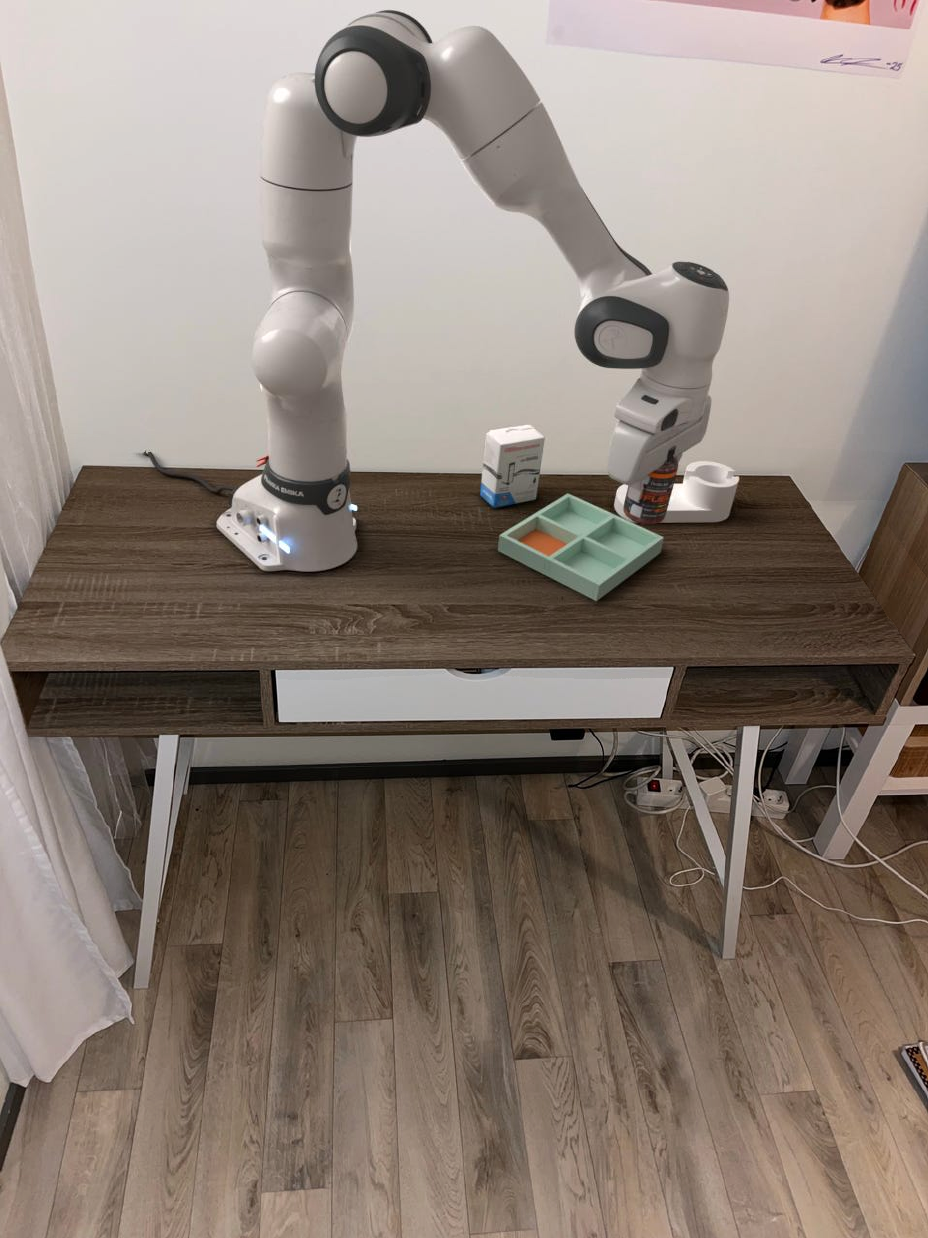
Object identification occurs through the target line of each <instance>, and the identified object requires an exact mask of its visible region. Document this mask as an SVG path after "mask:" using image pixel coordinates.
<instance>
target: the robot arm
mask: <svg viewBox="0 0 928 1238" xmlns="http://www.w3.org/2000/svg"><path fill="white" fill-rule="evenodd" d="M423 119H424V120H427V121H428V122H430V123H432V124H433V125H434V126H435V127H436V128H437V129H438V130H439V131H440V133H441V134H442V135H443V136H444V138H445V139H446V141H447V142H448V143H449V145H450V147H451V149H452V150H453V152H454V153H455V155H456V157H457V159H458V160H459V161H460V163H461V164H462V166H463V168H464V170H465V172H466V173H467V174H468V176H469V178H470V179H471V180H472V182H473V183H474V185H476V187H477V188H478V189H479V191H481V192H482V194H483V195H484V197H486V198H487V200H489V201H490V203H492V205H493V206H495V208H498V209H500V210H503V211H506V212H509V213H520V214H524V215H526V216H529V217H531V218H533V219H534V220H536V221H537V222H538V223H539V224H540V225H541V226H542V227H543V228H544V229H545V231H546V232H547V234H548V235H549V236H550V238H551V240H552V241H553V242H554V244H555V245H556V247H557V248H558V250H559V251H560V253H561V254H562V256H563V258H564V259H565V261H566V262H567V263H568V266H570V268H571V270H572V271H573V273H574V274H575V276H576V278H577V281H578V285H579V291H580V305H579V307H578V310H577V315H576V319H575V322H574V331H573V332H574V339H575V344H576V346H577V348H578V350H579V351H580V353H581V354H582V356H583V357H584V358H585V359H586V360H587V361H589V362H591V363H592V364H593V365H596V366H598V367H600V368H604V369H616V370H617V369H618V370H619V369H621V370H640V369H641V372H640V376H639V377H638V378H637V379H636V380H635V382H634V384H633V385H632V386H631V388H630V389H629V391H628V392H627V393H626V394H624V396H623V397H622V398H621V399H620V400H618V402H617V403H616V405H615V409H614V418H616V419H617V420H618V421H617V422H616V424H615V426H614V428H613V432H612V435H611V438H610V444H609V450H608V455H607V462H606V471H607V474H608V477H609V478H610V479H612V480H614V481H616V482H618V483H620V484H622V485H624V484H625V485H628V486H629V491H628V497H629V498H630V499H632V500H634V501H639V500H640V499H642V498H643V497H644V496H645V492H646V487H645V486H643V480H645V479H646V476H647V475H648V474H650V473H651V472H653V471H655V470H656V469H658V468H659V467H661V466H662V465H663V464H664V463H665V461H666V460H667V455H668V450H669V449H670V448H672V447H674V446H675V445H676V449H675V454H674V455H673V456H674V458H675V457H676V459H677V461H678V464H679V463H680V461H681V459H682V457H683V455H684V453H685V452H687V451H688V450H690V449H692V448H693V447H695V446H697V445H698V444H700V443H701V442H702V441H703V439H704V437H705V436H706V433H707V429H708V424H709V420H710V415H711V409H712V396H711V395H709V392H710V389H711V383H712V380H713V364H714V360H715V358H716V356H717V355H718V353H719V351H720V348H721V345H722V341H723V337H724V333H725V330H726V325H727V319H728V315H729V314H728V313H729V306H730V305H729V304H730V291H729V288H728V285H727V284H726V281H725V280H724V278H722V276H721V275H720V274H718V273H717V272H715V271H714V270H713V269H711V268H709V267H707V266H705V265H702V264H699V263H695V262H691V261H675V262H673V263H671V264H670V265H668V266H667V267H665V268H663V269H661V270H659V271H657V272H655V273H652V271H651V270H650V269H649V268H648V267H647V266H646V265H645V264H644V263H642V262H641V261H640V260H638V259H637V258H636V257H633V256H632V255H631V254H629V253H628V252H627V251H626V250H624V249H623V248H622V247H621V245H619V244H618V242H617V240H615V238H614V237H613V235H612V233H610V231H609V230H608V228H607V226H606V224H605V222H604V221H603V219H602V218H601V216H600V214H599V213H598V211H597V210H596V208H595V206H594V205H593V203H592V202H591V200H590V198H589V197H588V195H587V194H586V193H585V191H584V189H583V187H582V186H581V184H580V182H579V179H578V177H577V175H576V173H575V170H574V168H573V166H572V163H571V161H570V158H569V155H568V153H567V151H566V148H565V145H564V143H563V141H562V139H561V135H560V134H559V132H558V130H557V128H556V125H555V123H554V121H553V119H552V117H551V114H550V113H549V110H547V107H546V106H545V104H544V103H543V101H542V99H541V98H540V96H539V93H538V92H537V91H536V89H535V87H534V86H533V84H532V82H530V79H529V78H528V76H527V75H526V74H525V72H524V71H523V69H522V68H521V67H520V65H519V64H518V63H517V61H516V60H515V58H513V56H512V54H511V53H510V52H509V50H508V49H507V48H506V47H505V46H504V45H503V44H502V42H501V41H500V40H499V39H498V38H497V36H495V35H494V33H492V32H491V31H490V30H489V29H487V28H485V27H483V26H479V25H478V26H477V25H470V26H464V27H460V28H458V29H455V30H453V31H451V32H449V33H447V34H446V35H445V36H443V37H442V38H441V39H439V40H438V41H435V42H433V40H432V38H431V36H430V33H429V32H428V31H427V29H426V28H425V27H424V25H422V24H421V22H419V21H418V20H417V19H416V18H414V17H413V16H412V15H410V14H407V13H405V12H402V11H399V10H393V9H385V10H384V9H383V10H379V11H376V12H374V13H368V14H366V15H362V16H359V17H358V18H356V19H353V20H352V21H351V22H350V23H348V24H347V25H346V26H345V27H344V28H342V29H340V30H338V31H337V32H336V33H334V34H333V35H332V36H331V37H330V38H329V39H328V40H327V41H326V43H325V44H324V46H323V47H322V49H321V51H320V52H319V55H318V58H317V61H316V65H315V68H314V73H313V72H296V73H294V72H293V73H291V74H287V75H285V76H282V77H281V78H279V79H277V80H276V81H275V82H274V83H273V84H272V85H271V86H270V88H269V90H268V92H267V95H266V100H265V104H264V111H263V118H262V125H261V135H260V146H259V147H260V148H259V149H260V151H259V184H260V185H259V193H260V195H259V196H260V202H259V203H260V239H261V245H262V247H263V249H264V251H265V254H266V255H265V256H266V259H267V265H268V270H269V276H270V284H271V286H270V287H271V288H270V289H271V290H270V291H271V293H270V294H271V295H270V300H269V305H268V309H267V312H266V313H265V315H264V317H263V318H262V319H261V321H260V323H259V324H258V327H257V328H256V330H255V333H254V337H253V341H252V342H253V343H252V350H251V351H252V352H251V354H252V355H251V364H252V370H253V373H254V376H255V377H256V379H257V381H258V384H259V386H260V390H261V394H262V399H263V403H264V408H265V415H266V425H267V427H266V428H267V447H268V454H267V455H265V456H263V457H260V458H258V459H256V460H255V462H257V464H256V465H255V466H256V468H259V467H261V466H264V468H263V471H262V473H261V474H259V475H257V476H256V477H254V478H252V479H250V480H249V481H246V482H245V483H243V484H242V485H240V486H239V487H234V486H231V485H220V486H219V487H217V488H214V487H213V486H211V485H210V484H209V483H208V482H206V481H205V480H204V479H203V478H201V477H200V476H197V475H194V474H191V473H185V472H177V471H171V470H167V469H164V468H163V467H161V465H159V463H158V461H157V459H156V458H155V455H154V454H153V452H152V451H151V452H148V454H147V453H146V451H147V450H145V451H144V452H143V453H142V455H143V456H148V457H149V460H150V461H151V463H152V465H153V467H154V468H155V469H157V471H158V472H159V473H161V474H163V475H166V476H170V477H175V478H182V479H183V478H184V479H189V480H193V481H195V482H198V483H199V484H201V485H202V486H203V487H205V488H206V489H207V490H208V491H209V492H211V493H214V494H220V493H222V492H223V491H228V501H229V507H230V508H229V509H226V511H224V512H223V513H221V514H220V516H219V517H218V518H217V520H216V528H217V530H218V531H219V532H220V533H221V534H222V535H224V536H225V537H226V538H227V539H228V540H229V541H230V542H231V543H232V544H233V545H235V547H236V548H238V549H239V550H240V551H241V552H242V553H243V554H244V555H245V556H246V557H247V558H248V559H250V560H251V562H253V564H255V566H257V567H258V568H259V569H260V570H262V571H263V572H279V571H295V572H306V573H307V572H310V573H311V572H321V571H327V570H331V569H334V568H336V567H339V566H342V565H343V564H345V563H347V562H348V561H350V560H351V559H352V558H353V557H354V556H355V554H356V552H357V549H358V540H357V537H356V536H357V535H356V530H357V520H356V518H355V517H353V516H354V515H353V511H356V512H357V510H358V506H357V505H355V504H353V503H352V497H351V489H350V487H351V474H352V473H351V465H350V464H351V463H350V460H349V459H348V410H347V409H346V406H345V400H344V393H343V381H342V367H343V361H344V356H345V352H346V348H347V345H348V344H349V343H348V342H349V340H350V338H351V335H352V333H353V331H354V326H355V291H354V289H355V288H354V287H355V286H354V270H353V260H352V221H353V219H352V218H353V217H352V216H353V215H352V214H353V186H354V182H353V181H354V154H355V148H356V147H355V146H356V142H357V139H358V137H361V138H362V137H363V138H365V137H366V138H372V137H380V136H384V135H387V134H389V133H392V132H394V131H397V130H401V129H404V128H407V127H411V126H414V125H417V124H418V123H420V122H421V121H422V120H423Z"/></svg>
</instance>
